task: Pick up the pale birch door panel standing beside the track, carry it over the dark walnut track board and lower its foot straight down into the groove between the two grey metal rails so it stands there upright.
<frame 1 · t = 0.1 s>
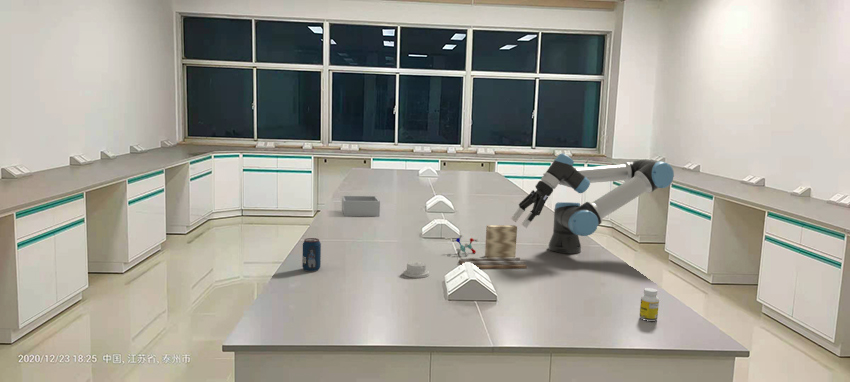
hand: (518, 223, 272), 15 cm above the lab bench, fingers open, 13 cm apart
door panel: (500, 256, 274), on the lab bench
supplement bottle: (648, 319, 196), on the lab bench
track board: (492, 264, 258), on the lab bench
storage crate: (360, 213, 372), on the lab bench
mechanical component: (416, 275, 239), on the lab bench
soda can: (311, 270, 240), on the lab bench
molecular model: (463, 254, 277), on the lab bench
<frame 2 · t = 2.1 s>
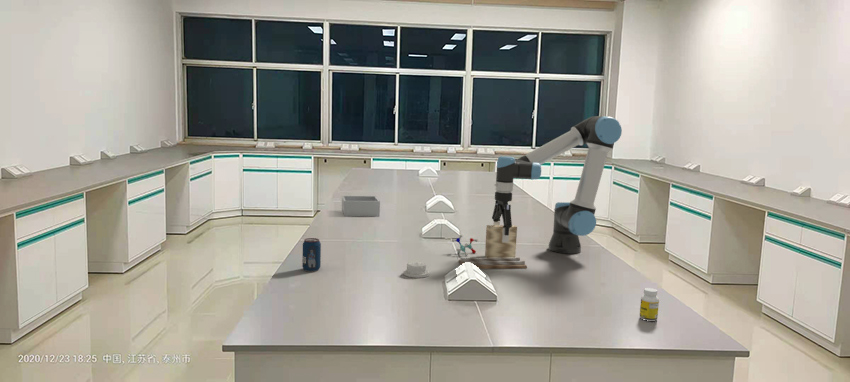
hand: (500, 239, 272), 8 cm above the lab bench, fingers open, 13 cm apart
nothing on the lab bench moved.
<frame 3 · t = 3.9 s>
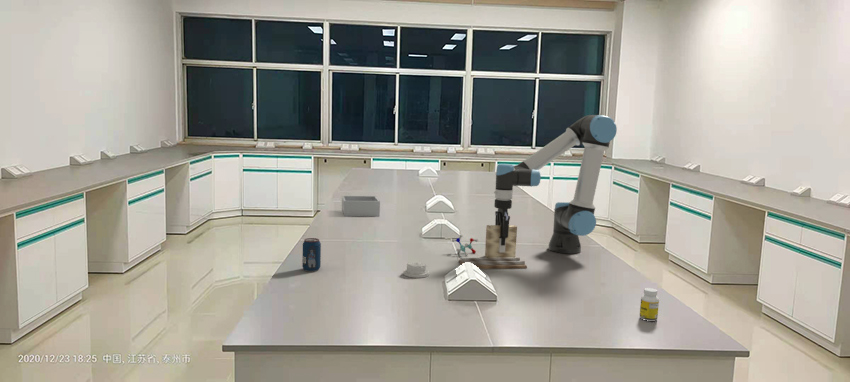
hand: (500, 251, 273), 3 cm above the lab bench, fingers closed on door panel, 3 cm apart
door panel: (500, 256, 274), on the lab bench, touching gripper
everything else where it was.
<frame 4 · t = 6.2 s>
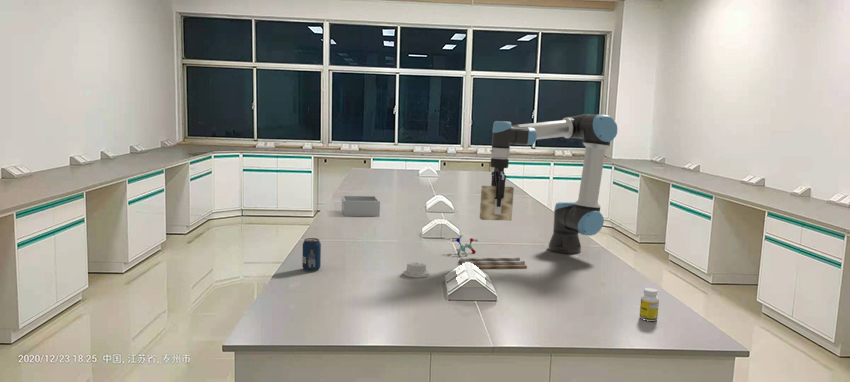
hand: (495, 213, 260), 21 cm above the lab bench, fingers closed on door panel, 3 cm apart
door panel: (495, 219, 260), point 19 cm above the lab bench, touching gripper
everything else where it was.
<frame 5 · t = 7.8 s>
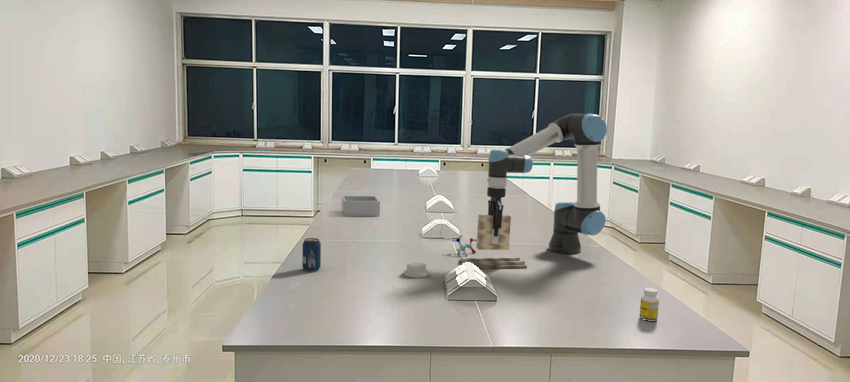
hand: (493, 242, 257), 10 cm above the lab bench, fingers closed on door panel, 3 cm apart
door panel: (492, 248, 257), point 7 cm above the lab bench, touching gripper
everything else where it was.
when the fingers open (4 cm above the lab bench, at t = 9.0 s): door panel stays where it is, resting on track board.
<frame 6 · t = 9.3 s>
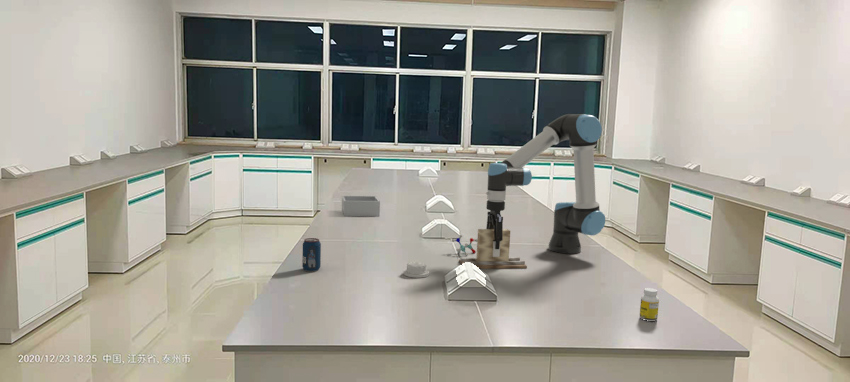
hand: (492, 254, 258), 5 cm above the lab bench, fingers open, 8 cm apart
door panel: (492, 262, 258), point 1 cm above the lab bench, touching track board
everything else where it was.
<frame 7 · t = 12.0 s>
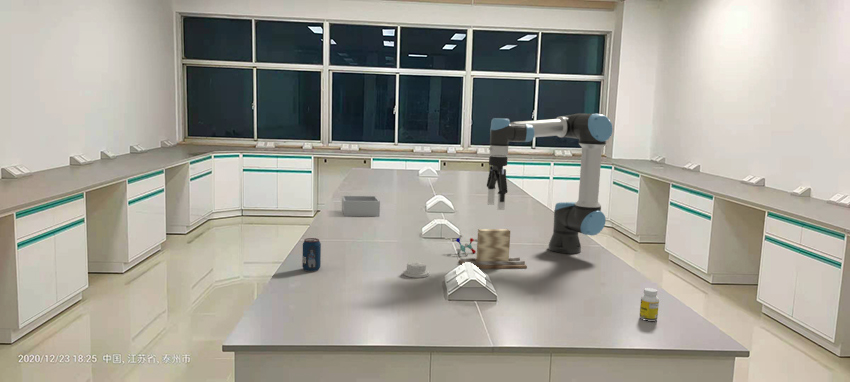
hand: (495, 207, 255), 25 cm above the lab bench, fingers open, 13 cm apart
nothing on the lab bench moved.
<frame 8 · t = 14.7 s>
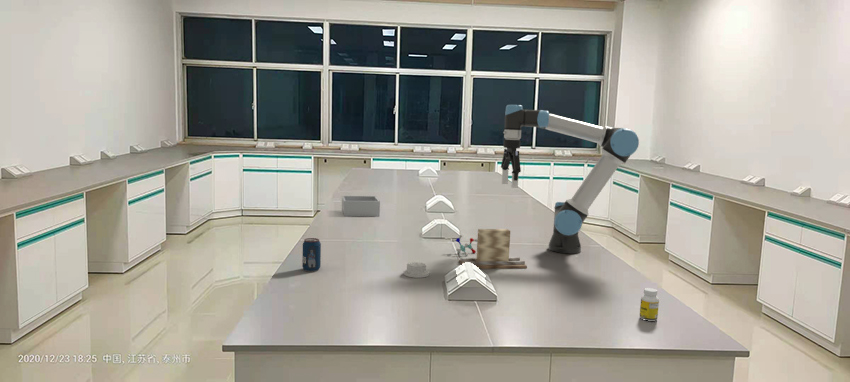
hand: (509, 185, 280), 31 cm above the lab bench, fingers open, 13 cm apart
nothing on the lab bench moved.
at the end: door panel inside the target area on the track board (0.0 cm from its centre), point 1.0 cm above the track board's base; door panel tilted 0°; the gripper is holding nothing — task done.
